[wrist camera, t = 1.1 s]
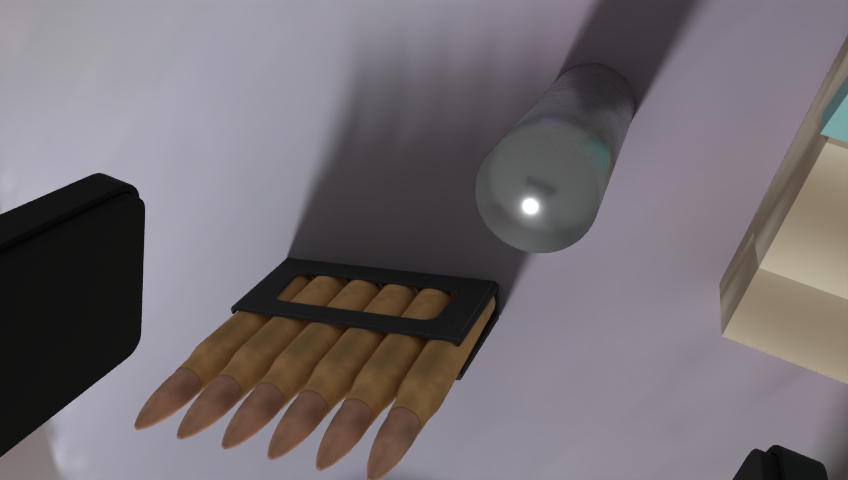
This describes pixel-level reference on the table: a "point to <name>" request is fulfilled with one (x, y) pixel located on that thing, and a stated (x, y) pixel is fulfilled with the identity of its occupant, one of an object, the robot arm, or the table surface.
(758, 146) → the table surface
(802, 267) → the block
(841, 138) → the teal square plate
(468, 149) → the table surface
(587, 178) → the steel pin
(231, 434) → the ammunition clip
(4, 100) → the table surface
